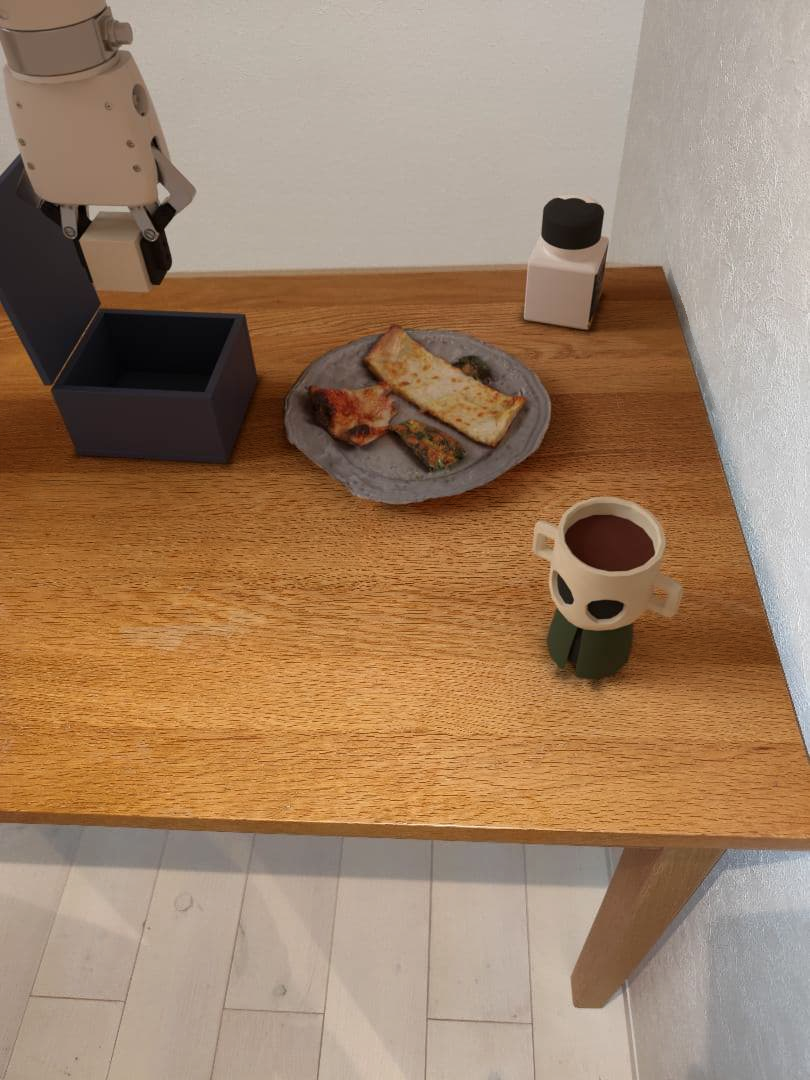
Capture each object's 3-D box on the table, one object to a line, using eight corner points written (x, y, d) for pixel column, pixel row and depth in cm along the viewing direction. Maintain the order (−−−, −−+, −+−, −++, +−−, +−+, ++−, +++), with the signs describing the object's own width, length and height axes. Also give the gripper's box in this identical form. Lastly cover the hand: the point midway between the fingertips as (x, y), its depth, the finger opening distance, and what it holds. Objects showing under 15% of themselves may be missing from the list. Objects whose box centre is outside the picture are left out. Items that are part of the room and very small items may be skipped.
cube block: (96, 290, 74) (78, 240, 71) (114, 261, 77) (99, 210, 74) (149, 292, 73) (134, 242, 70) (166, 262, 77) (152, 212, 73)
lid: (33, 145, 75) (25, 146, 75) (-33, 222, 67) (-42, 222, 67) (101, 303, 86) (93, 304, 86) (52, 385, 78) (44, 386, 78)
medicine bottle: (588, 331, 94) (603, 226, 85) (522, 321, 96) (530, 216, 87) (601, 295, 99) (616, 191, 90) (537, 285, 101) (546, 183, 92)
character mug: (501, 648, 68) (510, 534, 58) (547, 587, 72) (562, 470, 62) (633, 718, 64) (666, 607, 54) (674, 649, 67) (712, 534, 58)
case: (258, 378, 91) (245, 313, 85) (227, 464, 83) (210, 398, 77) (121, 372, 93) (99, 307, 87) (77, 455, 84) (49, 389, 78)
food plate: (241, 414, 87) (235, 385, 85) (419, 318, 97) (418, 290, 94) (409, 556, 74) (407, 527, 72) (595, 429, 84) (599, 400, 81)
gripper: (193, 21, 63) (239, 254, 77) (-31, 21, 65) (53, 248, 79) (160, 63, 58) (216, 304, 72) (-81, 61, 60) (18, 296, 74)
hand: (130, 273), depth 75 cm, fingers closed on cube block, 4 cm apart
